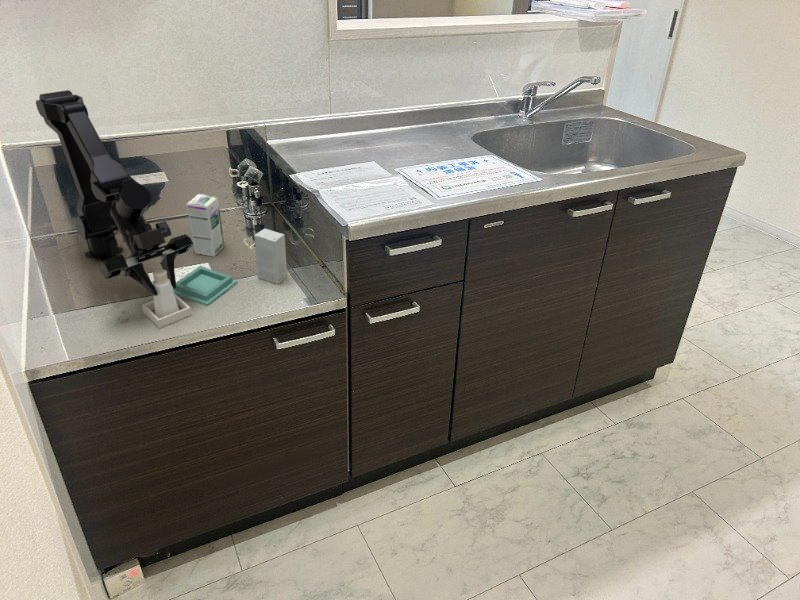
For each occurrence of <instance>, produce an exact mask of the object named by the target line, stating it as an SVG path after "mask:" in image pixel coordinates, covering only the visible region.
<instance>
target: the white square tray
mask: <svg viewBox="0 0 800 600" xmlns="http://www.w3.org/2000/svg"><path fill="white" fill-rule="evenodd" d="M174 295H175V298H176V301H177V304H178V307H179V306H180V307H179V308H180V309H179V311H177V312H174V313H172V314H169V315H167V316H164V317H162V318H158V317H157V316H156V315H155V312H153V311H155V310H154V299H153V300H151V301H147V302H145V303H142V304H141V306H142V311H143V313H144V314H145V316H146V317H148V318H149V319H150V320H151V321H152V322H153V323H154V325H156V327H158V328H159V329H161V328H163V327H165V325H166V326H168V325H170V323H171V324H172V323H175V322H178V321H180V320H182V318H183V319H185V318H188V317H189V316H192V310H191V307H190V306H189V305H188V304H187V303H186V302H185V301H184V300H183V299H181V298H180V296H178V295H176V294H175V293H174ZM187 316H188V317H187ZM184 317H185V318H184ZM179 319H180V320H179ZM177 320H178V321H177Z"/></svg>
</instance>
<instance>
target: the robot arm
mask: <svg viewBox="0 0 800 600" xmlns="http://www.w3.org/2000/svg"><path fill="white" fill-rule="evenodd" d="M35 106H36V109H37V112H38V113H39V115H40V116H41V117H42V118H43V121H44V123H45V125H47V127H49V128H50V129H51V130H52V131H54V132H55V133H56V134H57V136H58V139H59V142H60V144H61V147H62V150H63V153H64V156H65V158H66V162H67V163H68V167H69V170H70V173H71V176H72V178H73V181H74V184H75V188H76V190H77V193H78V196H79V198H78V201H77V204H76V212H77V215H78V216H77V218H76V221H75V224H74V226H75V228H76V231H77V234H79V235H80V236H81V237H82V238H83V239H84V240H85V241H86V243H87V246H88V251H87V252H85V253H84V256H85V257H88V258H91V259H95V260H98V261H99V260H100V261H101V262H103V263H102V265H101V267H100V272H101V274H102V276H103V279H104V280H109V279H112V278H115V277H119V276H120V275H121V272H122V271H123V272H124V274H123V276H124V278H128V277H130V278H131V279H133V280H134V281H136V282H137V283H138V284H140V285H141V286H143V287H144V288H145V289H146V290H147V291H148V292H149V293H151V294H152V295H154V296H157V295H158V294H157V291H156V289H155V287H154V285H153V281H151V278H150V277H149V274H147V272H146V270H145V267H144V264H143V263H144V262H147V261H150V260H153V259H156V258H159V257H160V258H161V261H160V266H161V269H164V270H166V271H167V278H168V279H169V280H170V282H171V285H172V288H173V289H176V282H177V281H176V272H175V261H176V260H175V259H176V258H177V257H178V256H180V255H183V254H185V253H188V252H189V250H190V249H191V248H192V246H194V245H193V240H192V237H191V236H189V235H187V234H186V233H184V234H181V235H179V236H175V237H172V238H170V239H169V241H168V243H167V244H165V243H166V240H165V238H167V237H171V236H172V231H171V229H170V226H169V224H168V223H167V221H159V222H157V223H155V228H153V227H152V226H151V224H150V223H149V222H147V221H146V218H145V217H144V214H145V213H146V211H147V209H148V208H149V205H150V203H151V201H152V195H151V192H150V190H149V189H147V187H145V186H144V185H142V184H141V183H140V182H138V181H137V180H135V179H134V178H133V177H132V176H131V175H130V174H129V173H127V172H126V170H125V168H124V167H123V165H122V164H121V163H118V162H117V161H116V160H114V159H113V158H112V157H111V156H110V154H109V152H108V151H107V148H106V147H105V144H104V143H103V141H102V139H101V137H100V136H99V134H98V132H97V130H96V128H95V126H94V124H93V123H92V120H91V119H90V118H89V117H90V116H89V112H88V108H87V106H86V104H85V103H84V99H83V96H80V95H78V94H74V93H72V91H71V90H69V89H67V90H61V91H54V92H53V91H52V92H48V93H47V92H46V93H40V94H39V98H38V99H37V100H35ZM113 202H114V203H113ZM116 231H119V233H120V235H121V239H122V242H123V243H124V244H125V245H126V246H127V249H128V251H129V252H130V256H128V257H126V258H125V257H124V256H123V254H120V253H121V252H122V251H124V247H121V246H119V244H118V240H117V237H116V236H115V232H116ZM163 244H165V245H163ZM161 245H162V246H161ZM119 254H120V255H119Z"/></svg>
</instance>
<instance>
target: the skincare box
mask: <svg viewBox="0 0 800 600" xmlns="http://www.w3.org/2000/svg"><path fill="white" fill-rule="evenodd" d="M253 236H254V245H255V247H254V248H255V257H256V258H255V259H256V269H257V270H256V271H257V277H258V279H261V280H264V281H268V282H270V283H273V284H276V285H278V284H280V283H281V282H282V281H284V280H285V279H286V278H287V277H288V271H287V256H286V255H287V254H286V249H287V248H286V235H285V234H284V233H281V232H277V231H274V230H271V229H268V228H263V229H261V230H260V231H258V232H257V233H255V234H254V235H253Z"/></svg>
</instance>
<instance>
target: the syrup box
mask: <svg viewBox="0 0 800 600" xmlns="http://www.w3.org/2000/svg"><path fill="white" fill-rule="evenodd" d="M186 209H187V210H186V211H187V215H188V220H189V226H190V232H191V233H190V234H191V240H192V242H193V245H192V246H193V249H194V251H193V252H194V254H197V255H200V254H202V255H203V256H206V255H207V257H212V258H213V257H216V256H217V255H218V254H219V252H220V251H221V250H222V249H223V248H224V247H225V242H224V240H225V239H224V232H223V225H222V218H221V211H220V203H219V198H218V196H215V195H214V196H213V195H211V194H210V195H209V194H202V193H201V194H200V193H198V194H197V193H196V196H194V197H193V198H192V199H190V200H189V201H188V202H187V203H186Z"/></svg>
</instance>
